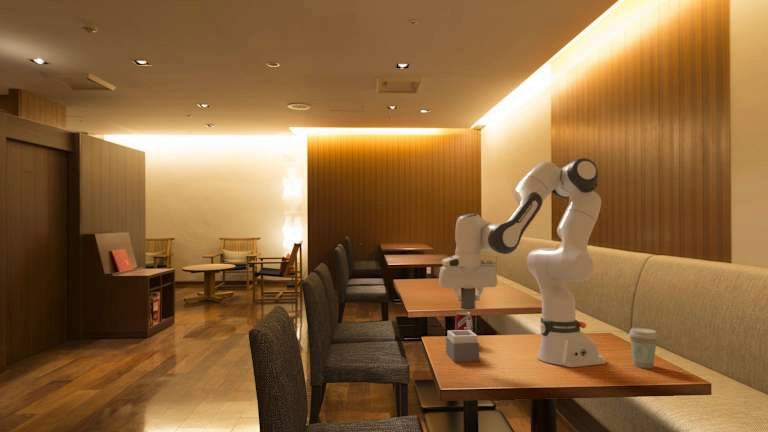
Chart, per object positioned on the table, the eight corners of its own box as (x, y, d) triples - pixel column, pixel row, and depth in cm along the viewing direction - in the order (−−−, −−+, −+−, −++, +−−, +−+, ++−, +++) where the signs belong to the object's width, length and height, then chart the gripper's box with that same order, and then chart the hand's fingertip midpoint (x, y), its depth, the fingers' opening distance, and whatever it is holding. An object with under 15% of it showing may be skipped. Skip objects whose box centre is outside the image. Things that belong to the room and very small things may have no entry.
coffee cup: (623, 362, 162) (623, 327, 162) (647, 361, 163) (647, 327, 163) (639, 370, 154) (639, 333, 154) (663, 369, 155) (663, 333, 155)
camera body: (469, 352, 174) (469, 329, 174) (479, 361, 163) (479, 336, 163) (446, 352, 173) (446, 329, 173) (453, 361, 162) (453, 337, 162)
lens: (472, 306, 166) (472, 284, 166) (477, 309, 161) (477, 286, 161) (458, 307, 165) (458, 284, 165) (463, 309, 160) (463, 286, 160)
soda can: (452, 343, 186) (452, 313, 186) (459, 339, 192) (459, 310, 192) (468, 346, 183) (468, 315, 183) (474, 342, 188) (475, 312, 189)
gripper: (493, 259, 168) (493, 298, 168) (437, 260, 165) (437, 299, 165) (500, 261, 161) (500, 301, 161) (442, 261, 159) (442, 302, 159)
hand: (467, 300), depth 163 cm, fingers closed on lens, 5 cm apart
